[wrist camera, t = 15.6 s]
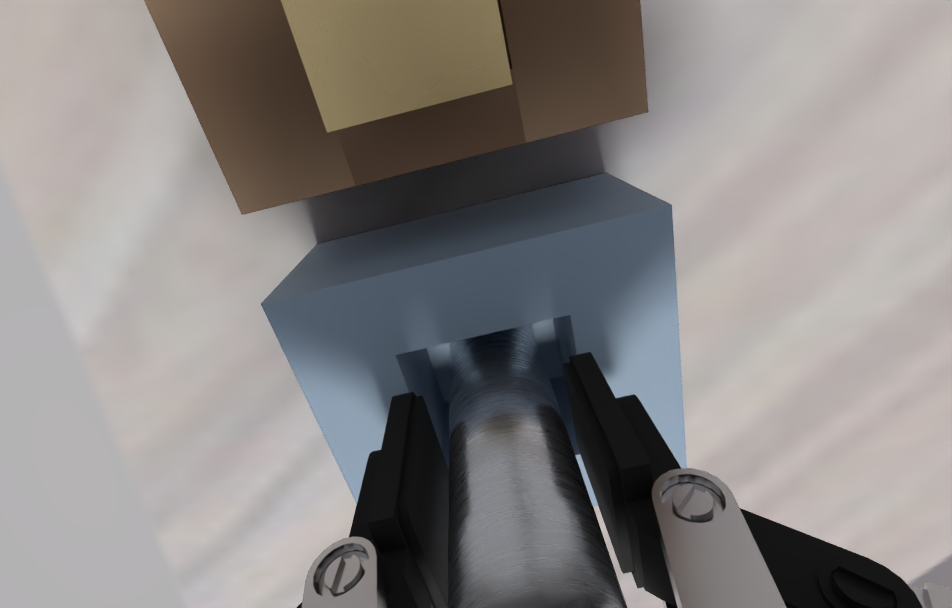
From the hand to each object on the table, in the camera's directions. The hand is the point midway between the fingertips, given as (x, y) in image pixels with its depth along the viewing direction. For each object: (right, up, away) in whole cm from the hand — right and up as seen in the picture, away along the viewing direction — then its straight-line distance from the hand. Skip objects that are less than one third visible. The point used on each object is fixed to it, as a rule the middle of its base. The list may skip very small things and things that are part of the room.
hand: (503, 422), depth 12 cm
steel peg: (0, +2, +4) cm, 5 cm away
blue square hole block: (0, +2, +5) cm, 6 cm away
